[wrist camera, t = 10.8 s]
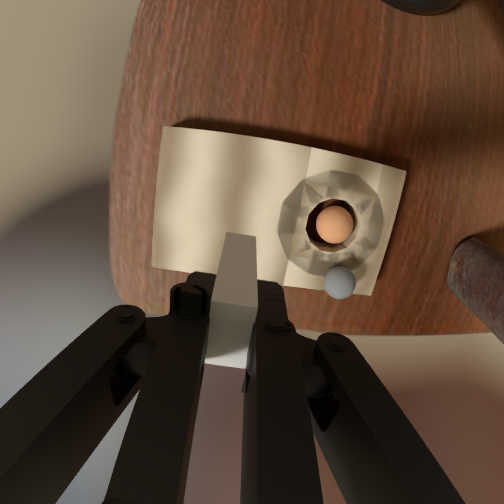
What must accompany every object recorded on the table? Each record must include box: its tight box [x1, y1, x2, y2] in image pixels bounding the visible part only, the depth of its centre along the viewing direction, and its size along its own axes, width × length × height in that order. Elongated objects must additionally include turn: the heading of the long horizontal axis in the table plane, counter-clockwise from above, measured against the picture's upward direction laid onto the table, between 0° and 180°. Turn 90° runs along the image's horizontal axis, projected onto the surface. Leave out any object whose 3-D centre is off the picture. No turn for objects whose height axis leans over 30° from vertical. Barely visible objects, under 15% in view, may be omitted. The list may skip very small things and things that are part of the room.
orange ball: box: [316, 206, 353, 243], centre depth 29 cm, size 4×4×4 cm
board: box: [152, 126, 406, 296], centre depth 29 cm, size 22×13×2 cm, turn 81°
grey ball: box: [324, 267, 356, 299], centre depth 28 cm, size 3×3×3 cm
